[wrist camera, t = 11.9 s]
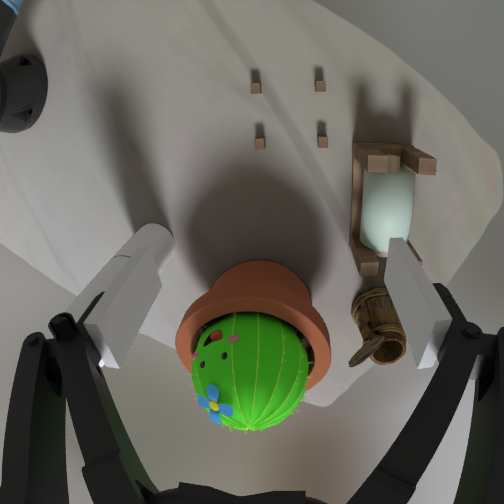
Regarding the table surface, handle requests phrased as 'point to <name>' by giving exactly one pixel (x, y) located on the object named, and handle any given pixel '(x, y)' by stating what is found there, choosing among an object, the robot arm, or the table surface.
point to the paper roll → (386, 206)
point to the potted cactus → (253, 345)
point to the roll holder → (372, 161)
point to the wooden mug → (378, 328)
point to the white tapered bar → (144, 237)
